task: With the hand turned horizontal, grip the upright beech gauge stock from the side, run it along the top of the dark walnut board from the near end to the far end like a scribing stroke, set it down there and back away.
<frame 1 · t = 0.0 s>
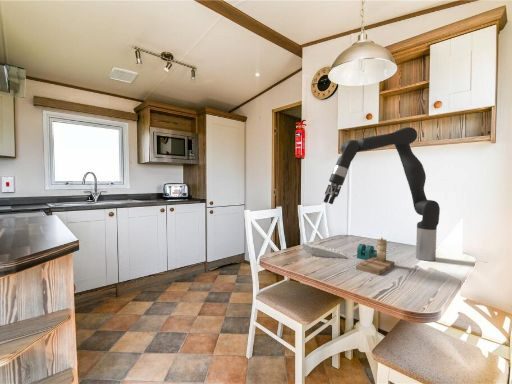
hand: (327, 203, 139), 31 cm above the table, tool tilted 20°, fingers open, 8 cm apart
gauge: (381, 260, 133), point 2 cm above the table, touching board
bracket: (369, 257, 147), on the table
board: (375, 267, 128), on the table
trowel: (323, 254, 151), on the table
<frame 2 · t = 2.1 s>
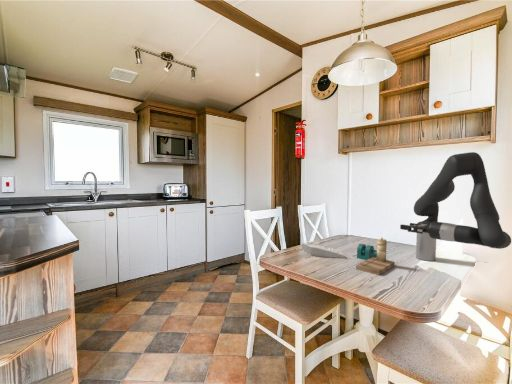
hand: (405, 225, 122), 22 cm above the table, tool horizontal, fingers open, 8 cm apart
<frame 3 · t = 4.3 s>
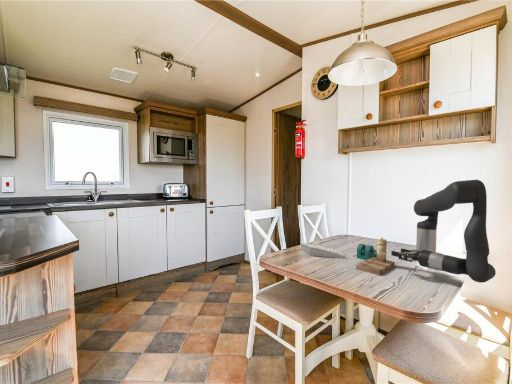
hand: (396, 251, 126), 9 cm above the table, tool horizontal, fingers open, 8 cm apart
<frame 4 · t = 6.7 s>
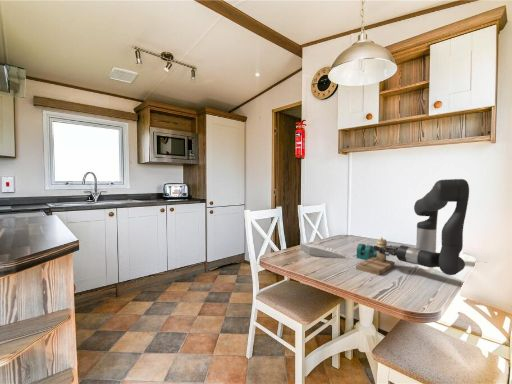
hand: (376, 247, 135), 8 cm above the table, tool horizontal, fingers closed on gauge, 4 cm apart
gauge: (381, 260, 133), point 2 cm above the table, touching board, gripper
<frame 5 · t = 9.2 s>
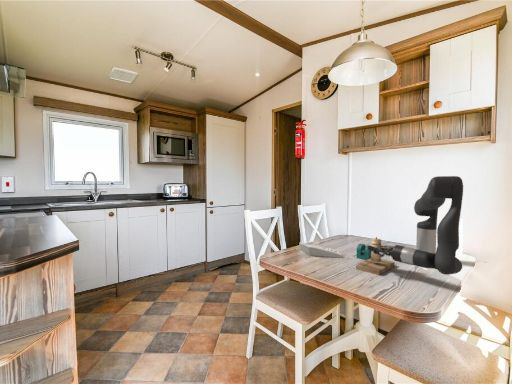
hand: (371, 247, 130), 10 cm above the table, tool horizontal, fingers closed on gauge, 4 cm apart
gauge: (375, 260, 128), point 3 cm above the table, touching gripper
when the fingers open (9 cm above the table, at t = 11.6 s): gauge stays where it is, resting on board.
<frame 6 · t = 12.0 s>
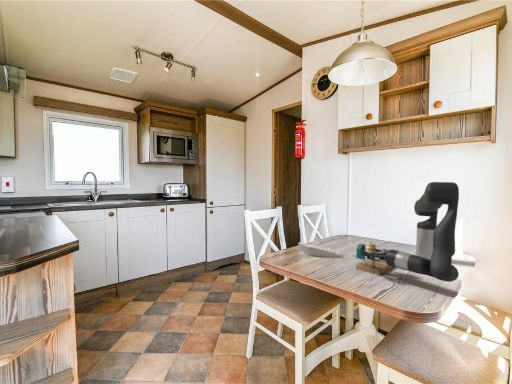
hand: (366, 251, 124), 9 cm above the table, tool horizontal, fingers open, 8 cm apart
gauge: (370, 266, 123), point 2 cm above the table, touching board
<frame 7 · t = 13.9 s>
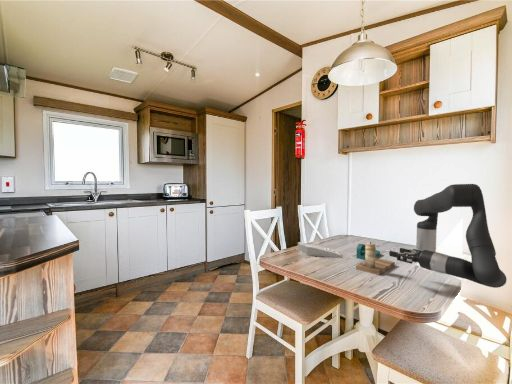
hand: (394, 251, 114), 12 cm above the table, tool horizontal, fingers open, 8 cm apart
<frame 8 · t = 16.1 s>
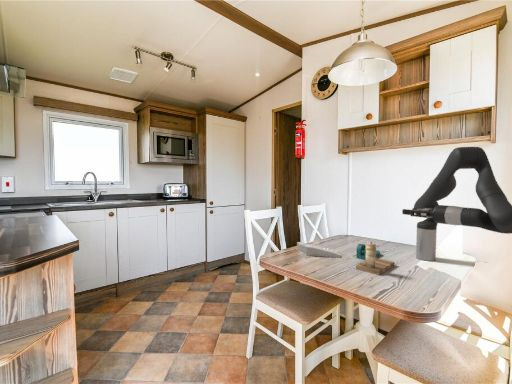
hand: (407, 211, 115), 30 cm above the table, tool horizontal, fingers open, 8 cm apart
at the end: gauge 0.4 cm from the target spot on the board, point 2.0 cm above the board's base; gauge tilted 1°; the gripper is holding nothing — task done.
